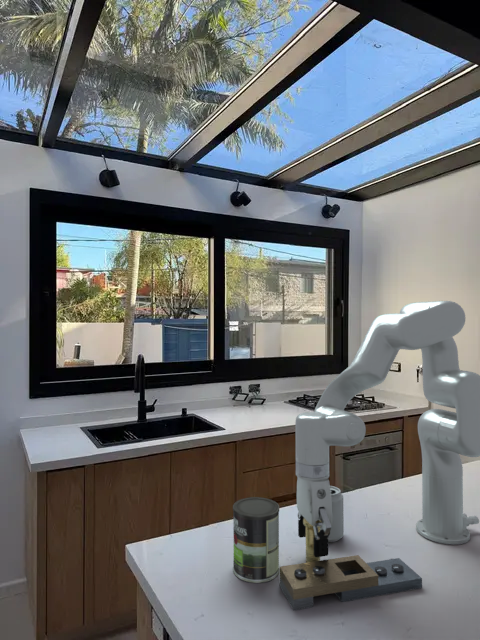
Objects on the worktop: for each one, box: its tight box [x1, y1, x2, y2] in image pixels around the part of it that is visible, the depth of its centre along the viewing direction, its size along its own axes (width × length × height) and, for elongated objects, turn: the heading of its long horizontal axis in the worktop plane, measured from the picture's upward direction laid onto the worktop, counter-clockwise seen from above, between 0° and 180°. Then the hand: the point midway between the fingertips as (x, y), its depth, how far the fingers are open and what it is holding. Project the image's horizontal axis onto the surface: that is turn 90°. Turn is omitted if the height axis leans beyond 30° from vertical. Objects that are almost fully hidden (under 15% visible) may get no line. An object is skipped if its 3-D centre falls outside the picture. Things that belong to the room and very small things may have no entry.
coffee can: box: [232, 496, 280, 584], centre depth 98 cm, size 10×10×14 cm
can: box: [320, 485, 345, 543], centre depth 113 cm, size 8×8×12 cm
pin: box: [303, 518, 321, 563], centre depth 100 cm, size 4×4×10 cm
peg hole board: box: [279, 554, 423, 611], centre depth 91 cm, size 28×8×5 cm, turn 104°
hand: (312, 545), depth 100 cm, fingers open, 8 cm apart
